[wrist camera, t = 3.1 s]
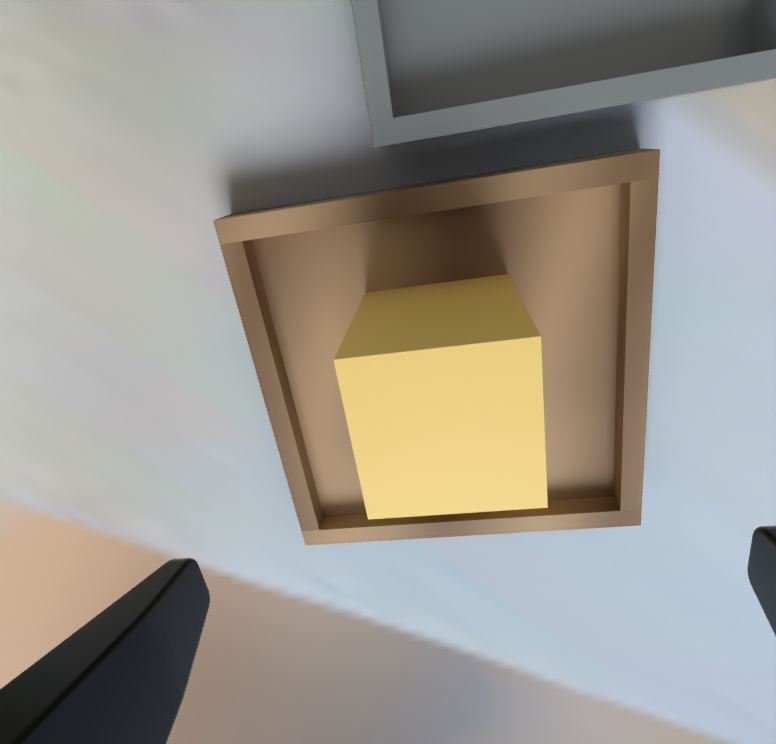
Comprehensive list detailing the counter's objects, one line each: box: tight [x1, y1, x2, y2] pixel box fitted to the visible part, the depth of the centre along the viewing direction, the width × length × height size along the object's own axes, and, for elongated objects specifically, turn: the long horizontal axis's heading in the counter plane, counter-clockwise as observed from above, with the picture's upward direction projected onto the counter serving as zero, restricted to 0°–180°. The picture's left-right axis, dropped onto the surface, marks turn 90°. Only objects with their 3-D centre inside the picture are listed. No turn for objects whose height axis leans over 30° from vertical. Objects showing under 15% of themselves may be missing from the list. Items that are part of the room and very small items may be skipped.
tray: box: [214, 149, 660, 545], centre depth 17 cm, size 12×12×1 cm
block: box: [334, 274, 548, 520], centre depth 14 cm, size 4×4×6 cm
